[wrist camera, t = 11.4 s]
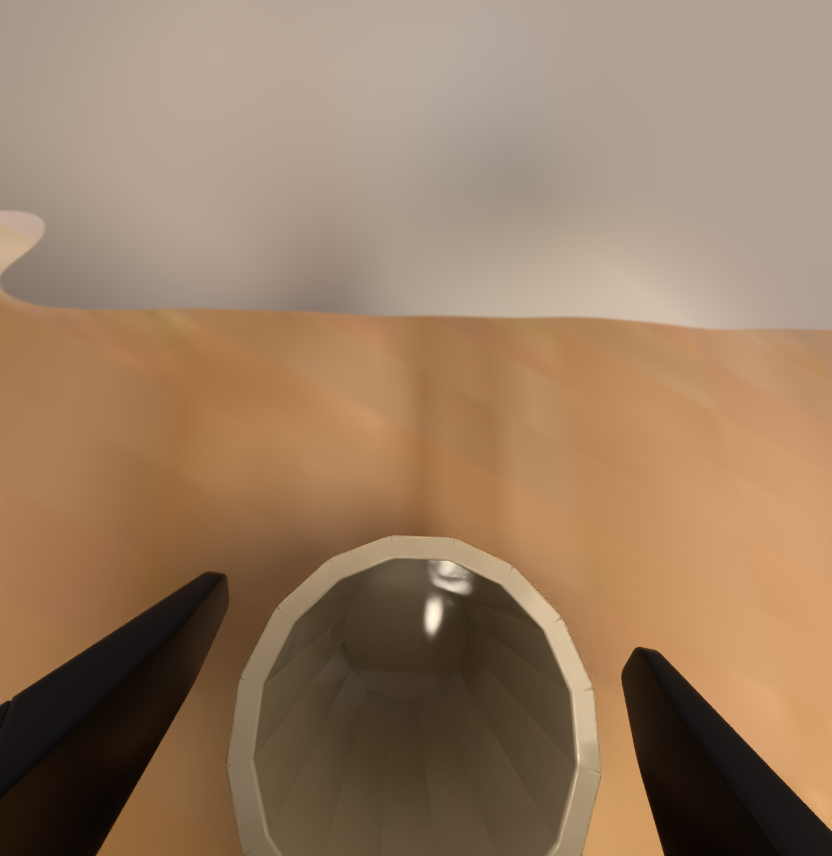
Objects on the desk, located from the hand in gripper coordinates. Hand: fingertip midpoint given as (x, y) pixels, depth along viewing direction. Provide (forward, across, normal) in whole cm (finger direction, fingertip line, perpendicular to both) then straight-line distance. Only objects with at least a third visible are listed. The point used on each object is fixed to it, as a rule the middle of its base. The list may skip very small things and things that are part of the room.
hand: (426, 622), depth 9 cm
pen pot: (+7, 0, +9) cm, 11 cm away
